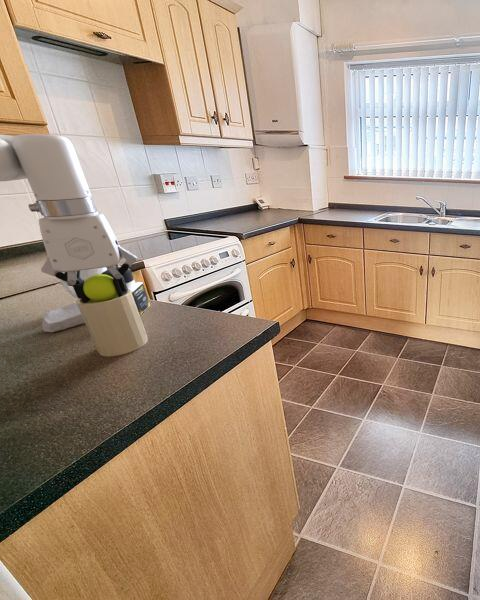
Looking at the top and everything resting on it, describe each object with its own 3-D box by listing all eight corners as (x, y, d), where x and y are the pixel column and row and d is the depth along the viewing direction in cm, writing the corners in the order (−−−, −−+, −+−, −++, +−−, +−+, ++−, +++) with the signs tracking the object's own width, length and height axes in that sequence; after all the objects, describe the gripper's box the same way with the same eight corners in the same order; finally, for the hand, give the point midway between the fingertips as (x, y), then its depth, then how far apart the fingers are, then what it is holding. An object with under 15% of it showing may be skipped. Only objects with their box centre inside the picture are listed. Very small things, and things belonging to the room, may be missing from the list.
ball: (85, 308, 66) (73, 281, 64) (93, 298, 71) (82, 273, 69) (120, 302, 69) (110, 276, 66) (125, 293, 73) (116, 269, 71)
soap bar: (58, 344, 81) (41, 330, 77) (47, 332, 84) (29, 317, 79) (103, 318, 87) (89, 304, 83) (91, 307, 89) (76, 292, 85)
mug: (117, 295, 101) (102, 256, 96) (119, 301, 96) (103, 261, 91) (72, 304, 95) (54, 263, 90) (72, 312, 90) (52, 269, 85)
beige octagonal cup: (93, 360, 69) (69, 307, 64) (104, 341, 76) (83, 292, 71) (144, 349, 73) (125, 299, 68) (150, 332, 80) (134, 285, 75)
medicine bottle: (141, 316, 88) (125, 272, 83) (108, 320, 86) (90, 275, 81) (151, 305, 94) (136, 264, 89) (121, 308, 92) (105, 266, 87)
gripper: (-5, 215, 56) (43, 313, 63) (121, 207, 63) (152, 296, 70) (16, 209, 62) (58, 299, 69) (129, 202, 69) (156, 284, 76)
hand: (105, 297), depth 70 cm, fingers closed on ball, 5 cm apart
